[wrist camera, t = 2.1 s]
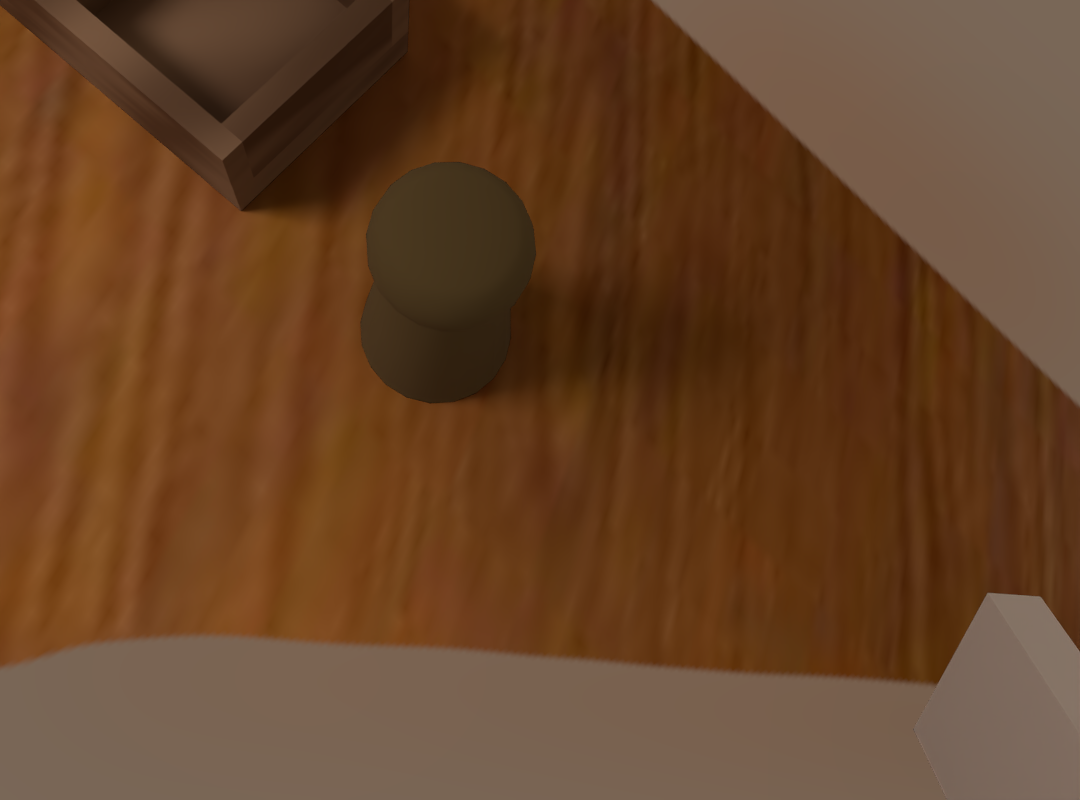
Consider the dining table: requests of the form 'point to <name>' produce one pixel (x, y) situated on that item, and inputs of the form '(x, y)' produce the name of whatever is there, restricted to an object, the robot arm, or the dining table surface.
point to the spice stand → (226, 71)
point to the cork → (444, 280)
